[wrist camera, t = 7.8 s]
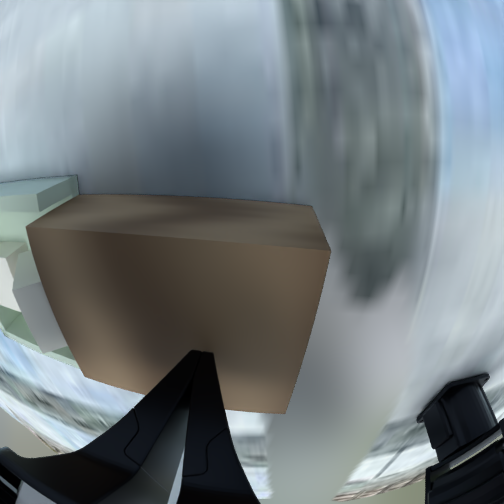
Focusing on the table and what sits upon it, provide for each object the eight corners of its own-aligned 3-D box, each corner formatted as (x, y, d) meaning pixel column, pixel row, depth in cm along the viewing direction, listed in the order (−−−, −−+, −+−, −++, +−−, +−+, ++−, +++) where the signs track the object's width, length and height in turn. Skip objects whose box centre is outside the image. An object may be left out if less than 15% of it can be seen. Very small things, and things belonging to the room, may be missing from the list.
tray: (76, 175, 11) (36, 194, 8) (114, 341, 16) (96, 374, 13) (-16, 185, 11) (-45, 201, 8) (23, 313, 16) (4, 335, 14)
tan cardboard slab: (311, 206, 11) (331, 250, 7) (284, 356, 15) (285, 413, 12) (79, 194, 11) (25, 226, 8) (111, 331, 15) (84, 376, 12)
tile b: (-22, 254, 11) (-3, 240, 12) (-1, 304, 12) (14, 289, 14) (5, 258, 10) (26, 242, 12) (28, 314, 12) (45, 296, 14)
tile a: (47, 279, 9) (12, 290, 8) (73, 343, 11) (43, 353, 10) (47, 244, 12) (18, 253, 11) (65, 302, 14) (39, 310, 13)
